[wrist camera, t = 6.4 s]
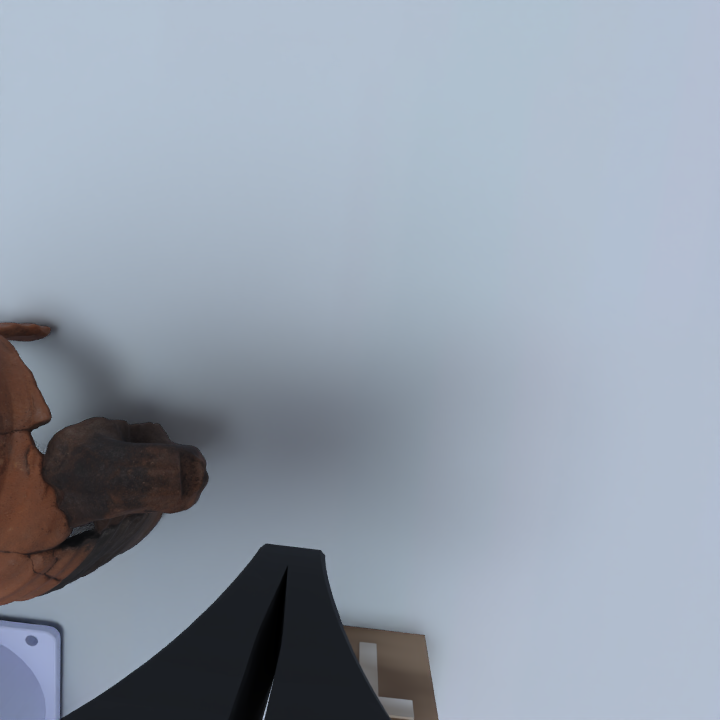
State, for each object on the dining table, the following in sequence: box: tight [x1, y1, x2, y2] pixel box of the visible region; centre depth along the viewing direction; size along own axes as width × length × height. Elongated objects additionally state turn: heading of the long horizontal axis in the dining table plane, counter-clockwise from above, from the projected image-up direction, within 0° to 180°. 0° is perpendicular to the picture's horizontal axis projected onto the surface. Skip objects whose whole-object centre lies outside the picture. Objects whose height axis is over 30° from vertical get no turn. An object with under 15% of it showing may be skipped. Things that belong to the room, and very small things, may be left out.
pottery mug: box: [0, 323, 209, 605], centre depth 17 cm, size 12×10×8 cm
